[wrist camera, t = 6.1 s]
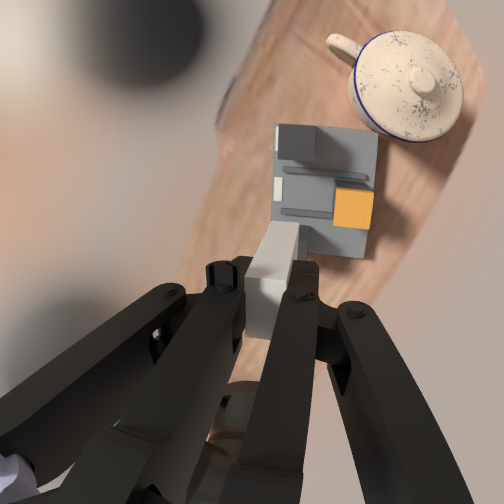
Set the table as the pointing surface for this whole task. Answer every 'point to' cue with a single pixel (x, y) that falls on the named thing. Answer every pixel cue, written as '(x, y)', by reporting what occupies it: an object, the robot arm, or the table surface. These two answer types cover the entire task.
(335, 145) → the panel
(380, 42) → the teacup with lid
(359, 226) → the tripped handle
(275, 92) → the table surface
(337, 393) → the robot arm
